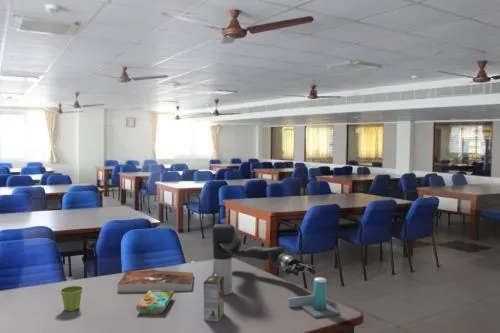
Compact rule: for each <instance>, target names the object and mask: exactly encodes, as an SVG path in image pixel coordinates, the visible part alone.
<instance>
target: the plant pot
mask: <svg viewBox="0 0 500 333" xmlns="http://www.w3.org/2000/svg"><path fill="white" fill-rule="evenodd" d="M83 290H84V286H81V285H69V286H66V287H63V288H61V289H59V292H60V294H61V297H62V302H63V309H64V310H65V311H68V312H73V311H74V312H75V311H77V309H80V307H81V298H82V294H83Z"/></svg>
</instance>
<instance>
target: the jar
mask: <svg viewBox="0 0 500 333" xmlns="http://www.w3.org/2000/svg"><path fill="white" fill-rule="evenodd" d="M327 286H328V285H327V279H326V278H325V277H320V276H318V277H314V278H313V295H314V299H313V309H314V310H317V311H324V310H326V303H327V288H328V287H327Z"/></svg>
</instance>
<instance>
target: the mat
mask: <svg viewBox="0 0 500 333" xmlns="http://www.w3.org/2000/svg"><path fill="white" fill-rule="evenodd" d="M300 308H301V309H302V310H304V311H305V312H306V313H307V314H308V315H309V316H311V317H312V318H313V319H320V318H327V317H333V316H340V315H341V312H340V311H339V310H337V309H336V308H334V307H332V306H331V305H329V304H328V303H327V302H326V310H324V311H317V310H314V309H313V304H307V305H301V306H300Z"/></svg>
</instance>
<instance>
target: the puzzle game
mask: <svg viewBox="0 0 500 333" xmlns="http://www.w3.org/2000/svg"><path fill="white" fill-rule="evenodd" d="M174 295H175V291H148V292H146V294H145V295H144V296H143V297H142V299H141V300H139V301H138V303H137V304H136V308H135V309H136V311H137V312H138V313H139V314H146V315H147V314H154V315H162V314H163V312H164V311H165V310H166V308H167V306H168V305H169V303H170V301H171V300H172V298H173V296H174Z"/></svg>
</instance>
